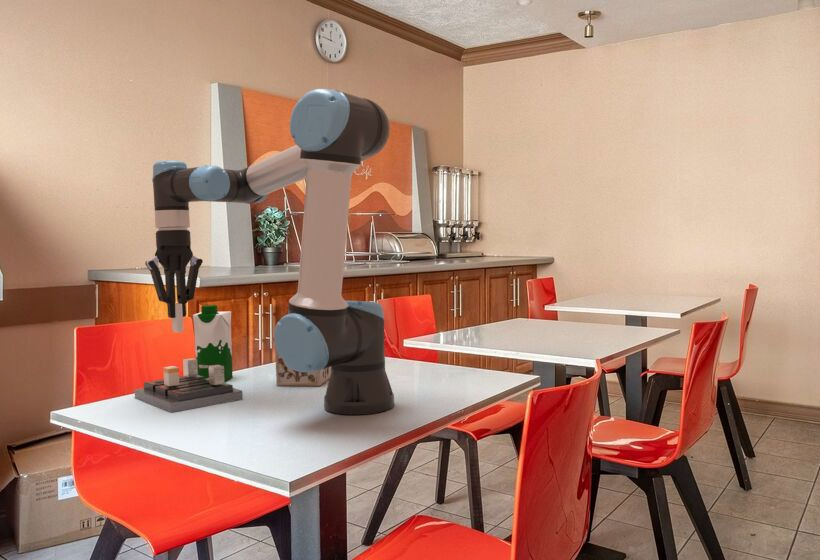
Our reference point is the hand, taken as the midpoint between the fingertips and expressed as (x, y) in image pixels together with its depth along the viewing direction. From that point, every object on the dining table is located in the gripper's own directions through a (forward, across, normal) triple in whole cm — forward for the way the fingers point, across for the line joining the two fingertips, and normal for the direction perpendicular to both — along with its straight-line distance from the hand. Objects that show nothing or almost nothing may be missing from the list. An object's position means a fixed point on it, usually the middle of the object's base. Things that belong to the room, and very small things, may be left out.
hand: (177, 331), depth 161 cm
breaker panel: (+16, -2, 0) cm, 16 cm away
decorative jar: (+16, -31, +4) cm, 35 cm away
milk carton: (+16, -16, -16) cm, 28 cm away
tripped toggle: (+12, +2, 0) cm, 12 cm away
